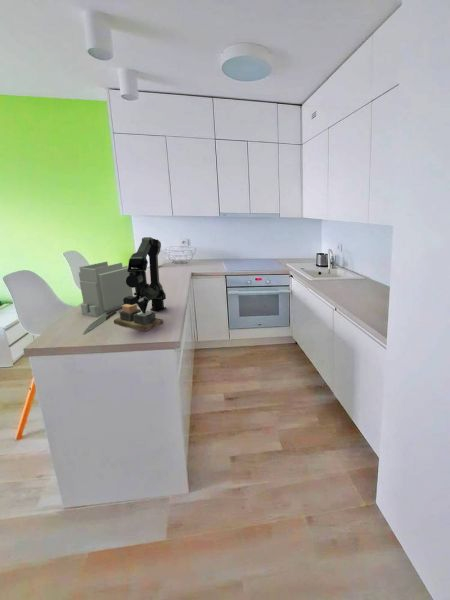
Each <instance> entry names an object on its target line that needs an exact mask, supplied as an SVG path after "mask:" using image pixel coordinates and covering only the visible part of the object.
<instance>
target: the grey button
mask: <svg viewBox="0 0 450 600" xmlns="http://www.w3.org/2000/svg"><path fill="white" fill-rule="evenodd" d="M149 314H152V311H149V312H148V310H146V313H143V312H142V311H141V312H140V313H137V315H139V316H143V317H145V316H147V315H149Z"/></svg>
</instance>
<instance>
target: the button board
mask: <svg viewBox="0 0 450 600" xmlns="http://www.w3.org/2000/svg"><path fill="white" fill-rule="evenodd" d="M147 311H148V310H147ZM140 312H142V311H141V309H140V308H137V311H134V312H132V313H126V312H123V310H120V311H119V317H117V318H115V319H113V323H114V324H115V325H119V326H123V327H125V328H130V329H134V330H137V331H141V332H145V333H146V332H148V331H150V330H152V329H154V328H156V327H159V326H161V325H162V324H163V323H164V321H163V318H162V319H161V318H157V317H156V312H155V311H153V312H152V311H151V312H152V314H149V315H147V316H145V317H143V316H139V315H137V313H140ZM148 312H150V311H148Z"/></svg>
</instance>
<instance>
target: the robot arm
mask: <svg viewBox="0 0 450 600" xmlns="http://www.w3.org/2000/svg"><path fill="white" fill-rule="evenodd" d="M161 248H162V243H161V241H160V240H159V239H156V238H153V237H150V236H149V237H142V238H141V243H140V244H139V246H138V248H137V251H136V252H135V253H133V254H132V255H131V256H130V258H129V259H128V263H127V264H128V265H127V266H128V272H130V273H129V276H128V277H127V278H126V284H127V285H128V286H129V287H131V288H132V289H134V291H135V292H133V296H128V297H125V298H124V299H123V303H124V305H126V304H129V305H134V304H137V307H138V309H140V310H141V312H143V313H146V311H147V309H148V308H147V307H148V304H149V303H150V301H151V308H150V310H151V311H153V312H161V311H164V310H165V309H167V307H166V306H165V304H164V301H165V300H166V299H167V298H166V295H167V294H166V292H165V291H164V288H163V285H162V283H161V282H160V272H159V259H158V257H159V254H160V252H161ZM147 257H148V259H147ZM148 261H149V262H148ZM148 264H149V275H150V283H148V282H147V272H146V271H147V269H148Z"/></svg>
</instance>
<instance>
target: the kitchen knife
mask: <svg viewBox="0 0 450 600" xmlns="http://www.w3.org/2000/svg"><path fill="white" fill-rule="evenodd" d="M116 314H117V310H114V311H111V312H110V313H105V314H103V315H101V316H98V317H97V318H96V319H95V320H93V321H91V322H90V323H89V324H88V325H87V326H86V327H85V328H84V330H83V332H82V334H81V335H82V336H84V335H85V334H86V333H87V332H89V331H90V330H92V329H93V328H95V327H97V326H98V325H101V324H102V323H104V322H105V321H107V320H109V319H111V318H112V317H114V316H115V315H116Z"/></svg>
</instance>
